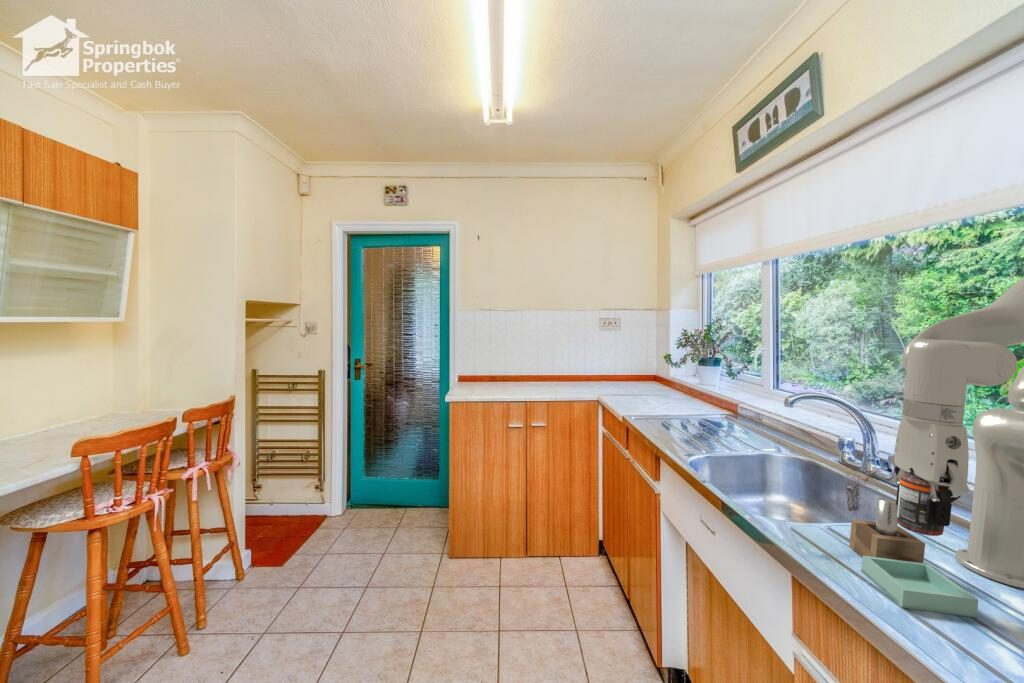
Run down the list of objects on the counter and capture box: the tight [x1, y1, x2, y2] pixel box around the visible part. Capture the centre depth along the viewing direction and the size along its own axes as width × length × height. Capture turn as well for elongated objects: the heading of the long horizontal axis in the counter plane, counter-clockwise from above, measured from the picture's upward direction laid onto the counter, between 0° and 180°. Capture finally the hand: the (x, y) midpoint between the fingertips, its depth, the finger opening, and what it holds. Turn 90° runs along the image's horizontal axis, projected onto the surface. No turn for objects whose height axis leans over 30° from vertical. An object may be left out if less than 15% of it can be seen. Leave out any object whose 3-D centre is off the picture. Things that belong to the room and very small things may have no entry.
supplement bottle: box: [897, 467, 945, 537], centre depth 75 cm, size 6×6×11 cm
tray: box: [860, 556, 979, 618], centre depth 75 cm, size 11×11×3 cm
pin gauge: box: [875, 497, 899, 537], centre depth 86 cm, size 3×3×12 cm
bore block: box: [849, 518, 926, 563], centre depth 86 cm, size 8×8×6 cm
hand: (921, 514), depth 75 cm, fingers closed on supplement bottle, 6 cm apart
